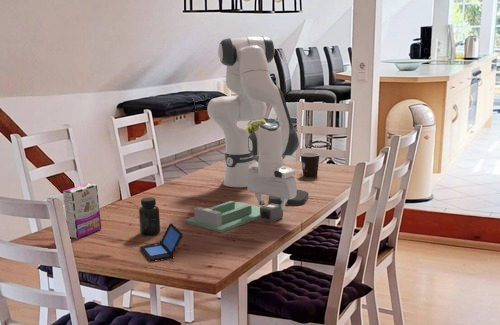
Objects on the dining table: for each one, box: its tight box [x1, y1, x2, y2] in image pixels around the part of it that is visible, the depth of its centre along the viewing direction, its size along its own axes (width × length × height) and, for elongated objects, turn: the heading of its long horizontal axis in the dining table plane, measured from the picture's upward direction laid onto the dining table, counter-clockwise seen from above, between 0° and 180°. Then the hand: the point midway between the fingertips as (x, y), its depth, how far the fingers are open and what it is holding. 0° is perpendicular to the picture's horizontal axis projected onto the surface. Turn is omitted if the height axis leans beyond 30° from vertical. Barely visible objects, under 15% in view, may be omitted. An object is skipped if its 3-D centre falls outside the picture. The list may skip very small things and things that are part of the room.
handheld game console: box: [140, 222, 184, 262], centre depth 184 cm, size 12×11×7 cm
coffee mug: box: [300, 152, 320, 178], centre depth 276 cm, size 12×9×10 cm
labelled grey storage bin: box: [259, 203, 284, 223], centre depth 214 cm, size 7×5×5 cm
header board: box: [184, 200, 262, 233], centre depth 217 cm, size 28×18×6 cm, turn 139°
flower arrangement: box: [242, 117, 287, 162], centre depth 290 cm, size 25×25×24 cm
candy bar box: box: [62, 182, 102, 240], centre depth 203 cm, size 11×5×16 cm, turn 148°
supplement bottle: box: [138, 197, 161, 237], centre depth 202 cm, size 7×7×12 cm
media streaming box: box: [268, 189, 309, 206], centre depth 238 cm, size 15×15×3 cm
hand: (271, 207), depth 214 cm, fingers open, 8 cm apart
